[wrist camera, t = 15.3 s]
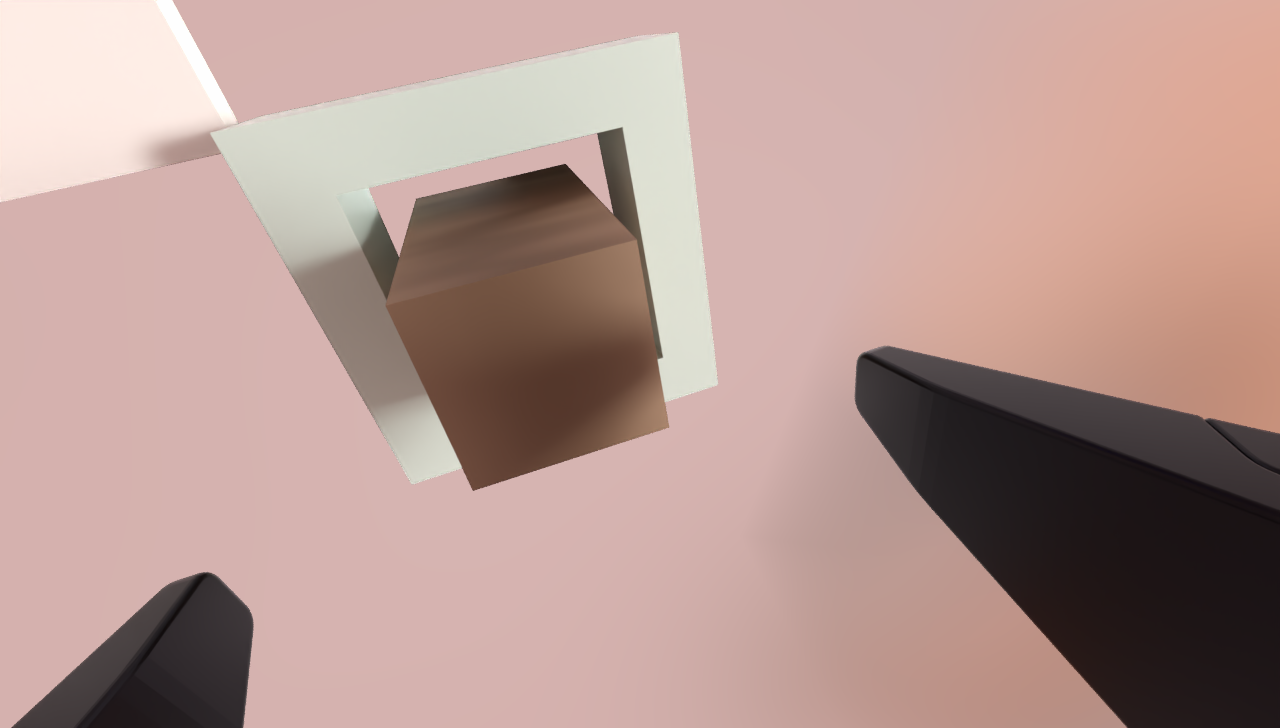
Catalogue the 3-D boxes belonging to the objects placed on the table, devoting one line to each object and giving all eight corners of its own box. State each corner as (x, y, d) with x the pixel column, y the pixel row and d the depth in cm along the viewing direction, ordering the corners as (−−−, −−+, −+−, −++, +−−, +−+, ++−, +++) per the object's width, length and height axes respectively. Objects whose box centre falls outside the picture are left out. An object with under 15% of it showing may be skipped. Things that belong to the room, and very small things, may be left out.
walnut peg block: (565, 163, 14) (636, 240, 9) (595, 295, 17) (669, 427, 11) (416, 199, 14) (385, 305, 8) (467, 331, 16) (473, 490, 10)
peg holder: (637, 35, 13) (678, 32, 11) (682, 339, 18) (717, 384, 16) (260, 116, 12) (209, 132, 10) (418, 421, 17) (411, 484, 14)
